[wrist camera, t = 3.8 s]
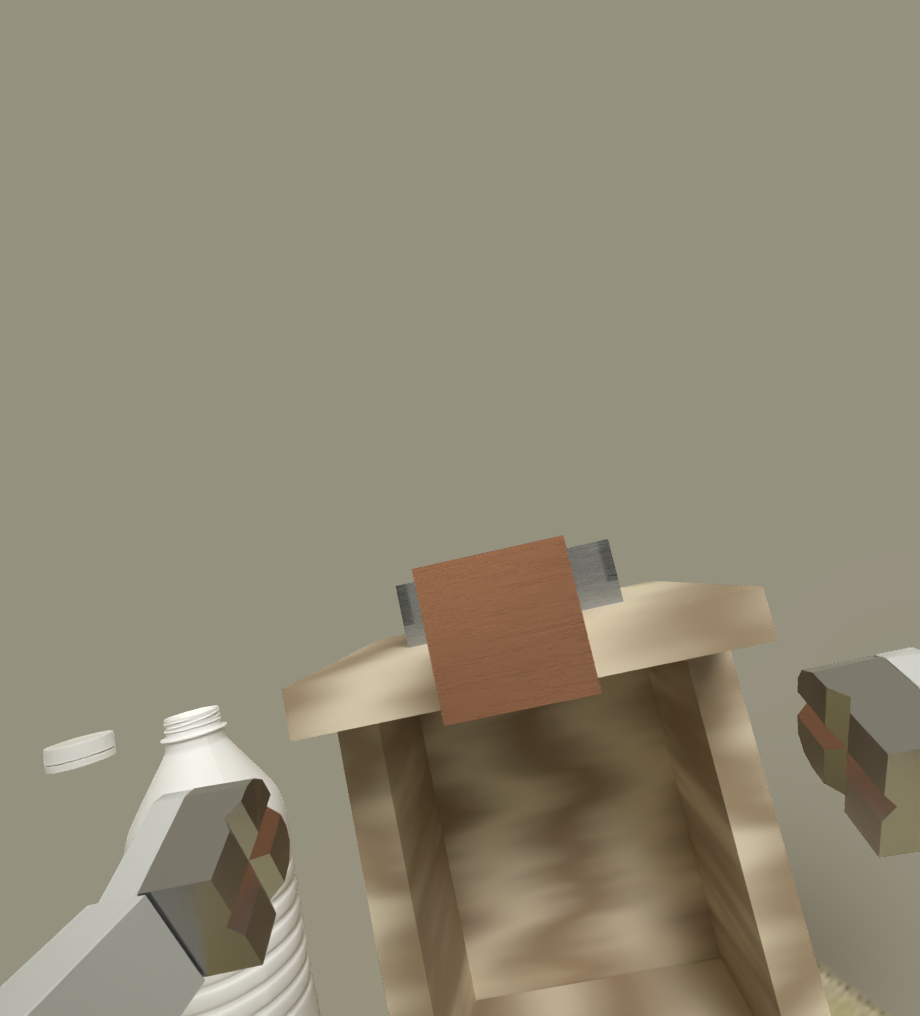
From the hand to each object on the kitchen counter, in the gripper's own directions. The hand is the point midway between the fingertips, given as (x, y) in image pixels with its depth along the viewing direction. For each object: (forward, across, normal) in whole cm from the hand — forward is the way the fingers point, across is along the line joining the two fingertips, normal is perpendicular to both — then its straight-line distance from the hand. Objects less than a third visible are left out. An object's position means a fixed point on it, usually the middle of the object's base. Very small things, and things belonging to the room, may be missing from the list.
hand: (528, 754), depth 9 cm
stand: (-1, 0, +29) cm, 29 cm away
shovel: (+8, 0, +4) cm, 9 cm away
